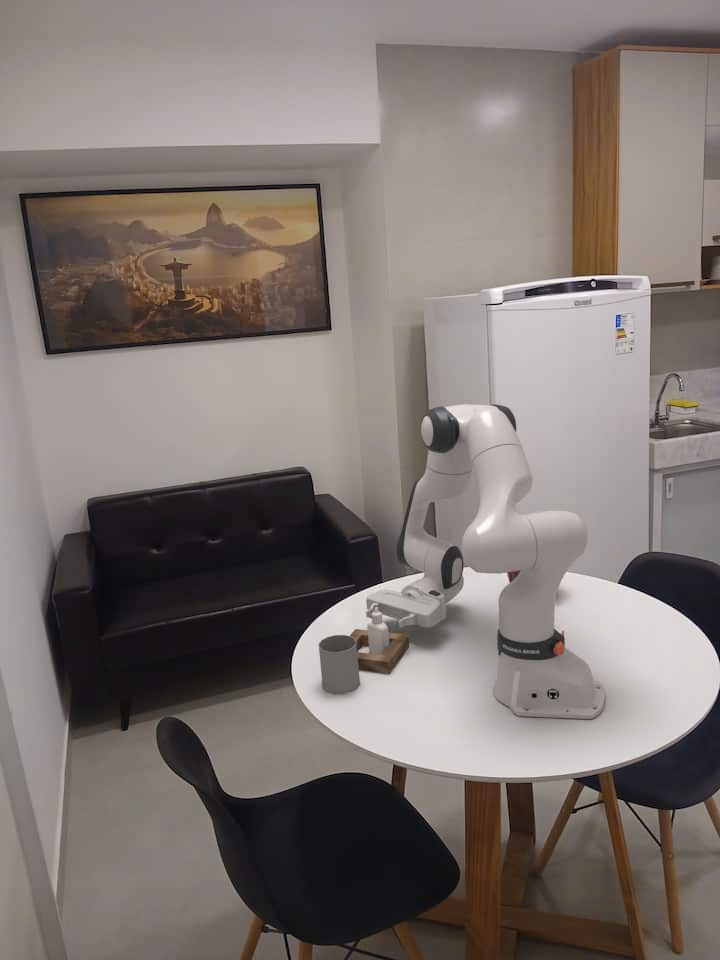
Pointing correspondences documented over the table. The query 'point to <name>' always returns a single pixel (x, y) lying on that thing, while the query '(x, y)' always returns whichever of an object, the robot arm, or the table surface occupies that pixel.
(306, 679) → the table surface
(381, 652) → the eye dropper bottle
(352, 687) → the cup
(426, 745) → the table surface
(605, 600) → the table surface
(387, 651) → the socket block
